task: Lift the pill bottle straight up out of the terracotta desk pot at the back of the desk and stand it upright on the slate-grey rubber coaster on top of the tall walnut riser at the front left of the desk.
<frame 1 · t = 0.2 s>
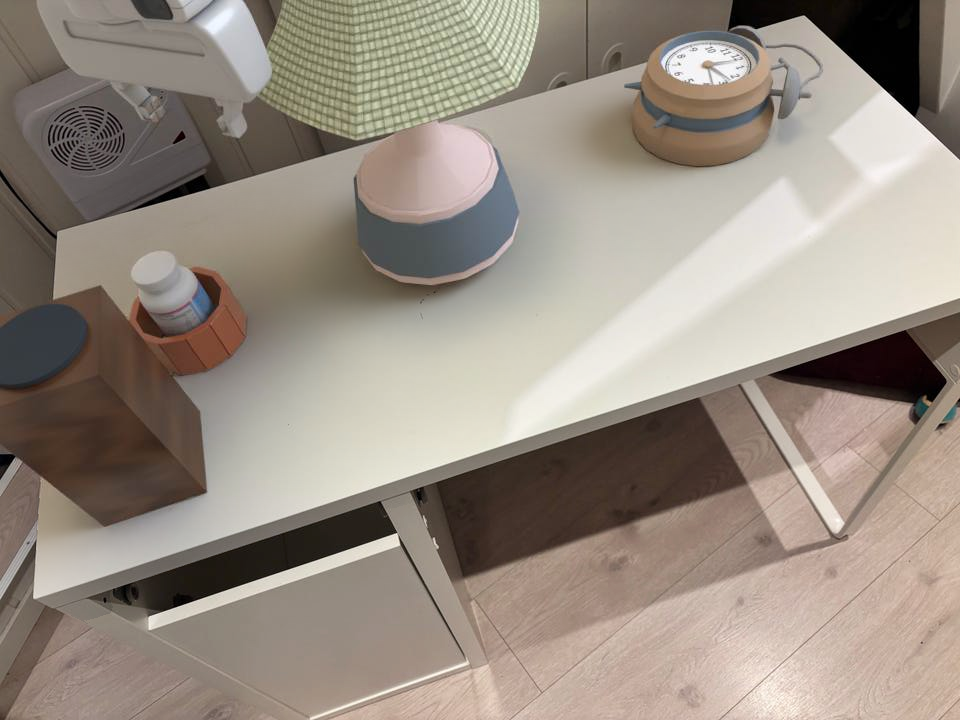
hand: (194, 125, 67), 23 cm above the table, tool pointing down, fingers open, 8 cm apart
desk pot: (200, 335, 84), on the table
alarm clock: (721, 118, 95), on the table
desk lamp: (441, 238, 88), on the table
riser: (154, 466, 74), on the table
coaster: (37, 347, 58), resting on riser
pill bottle: (201, 336, 84), resting in desk pot
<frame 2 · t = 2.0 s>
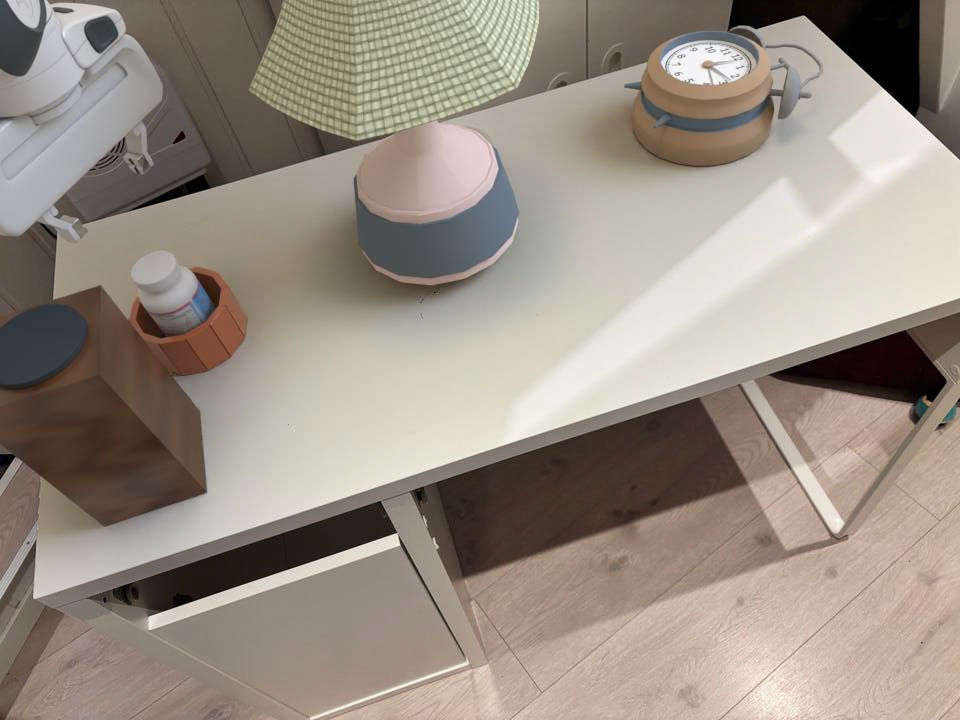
hand: (111, 201, 68), 20 cm above the table, tool pointing down, fingers open, 8 cm apart
nothing on the table moved.
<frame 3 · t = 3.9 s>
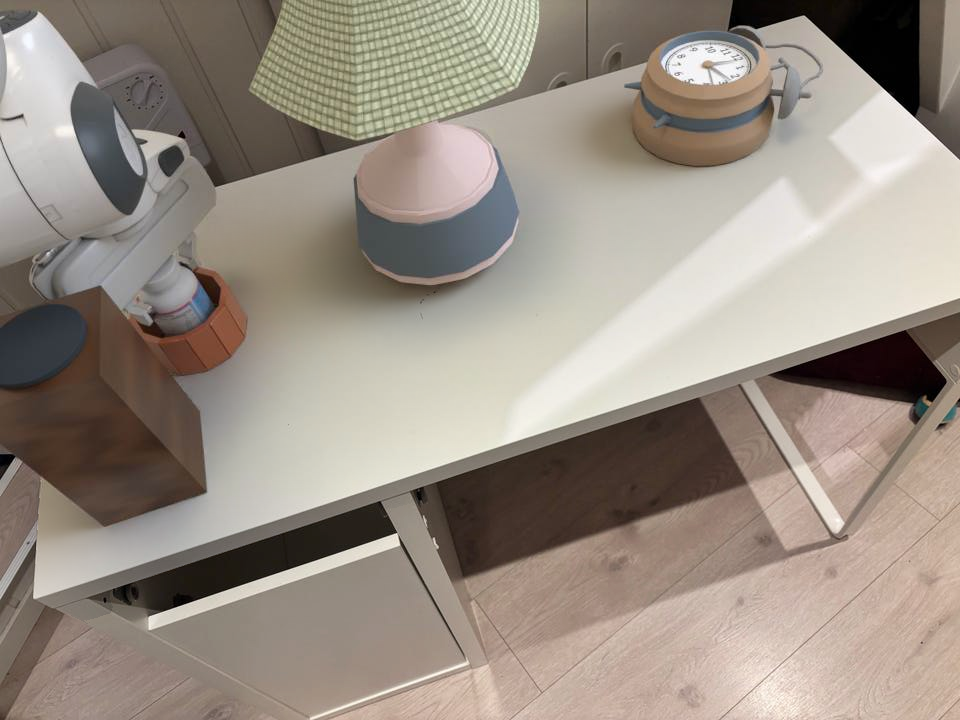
hand: (171, 293, 78), 7 cm above the table, tool pointing down, fingers closed on pill bottle, 6 cm apart
pill bottle: (201, 336, 84), resting in desk pot, touching gripper
everything else where it was.
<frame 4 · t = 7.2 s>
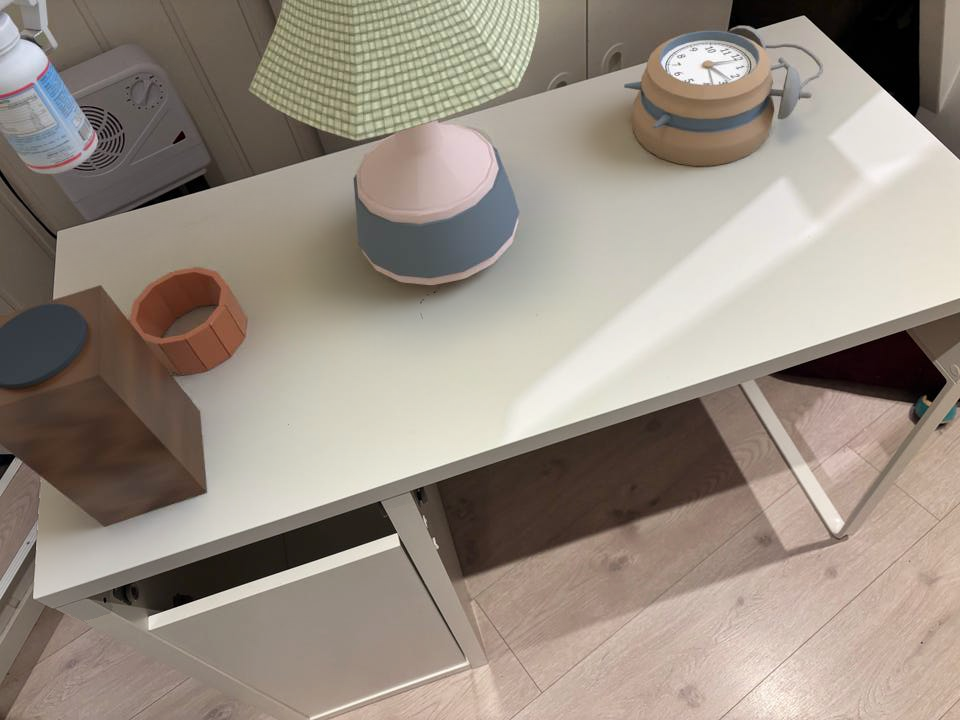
hand: (12, 77, 57), 33 cm above the table, tool pointing down, fingers closed on pill bottle, 6 cm apart
pill bottle: (66, 156, 63), point 26 cm above the table, touching gripper
everything else where it was.
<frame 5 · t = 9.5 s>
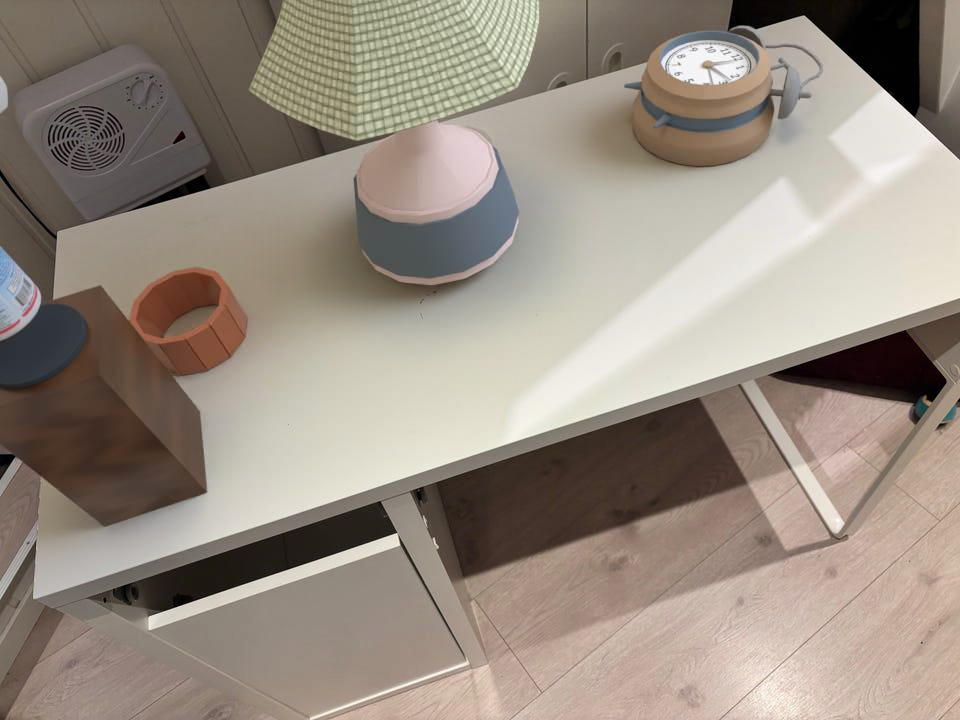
pill bottle: (5, 317, 55), point 23 cm above the table, touching gripper
everything else where it was.
when the fingers open (27 cm above the table, at t = 11.0 s): pill bottle stays where it is, resting on coaster.
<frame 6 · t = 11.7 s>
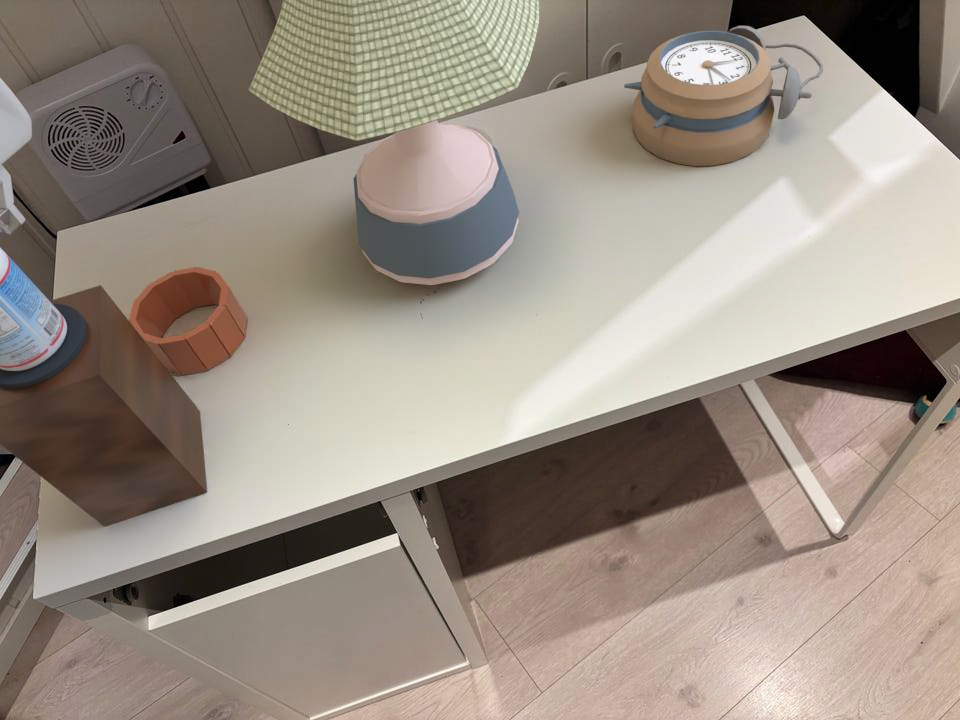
pill bottle: (32, 345, 58), point 20 cm above the table, touching coaster
everything else where it was.
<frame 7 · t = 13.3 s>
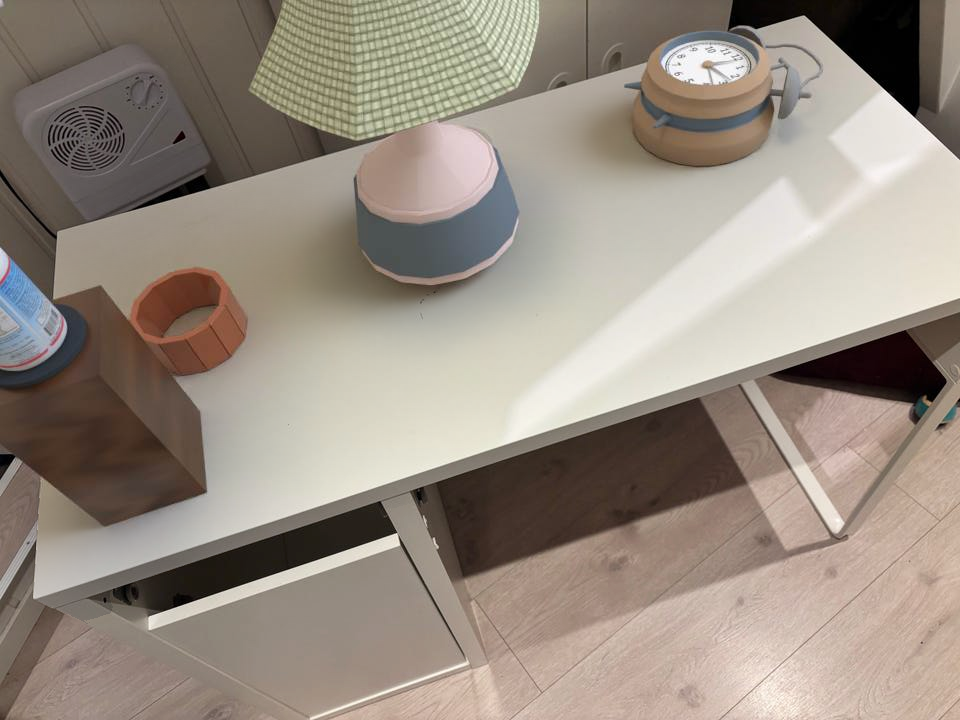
nothing on the table moved.
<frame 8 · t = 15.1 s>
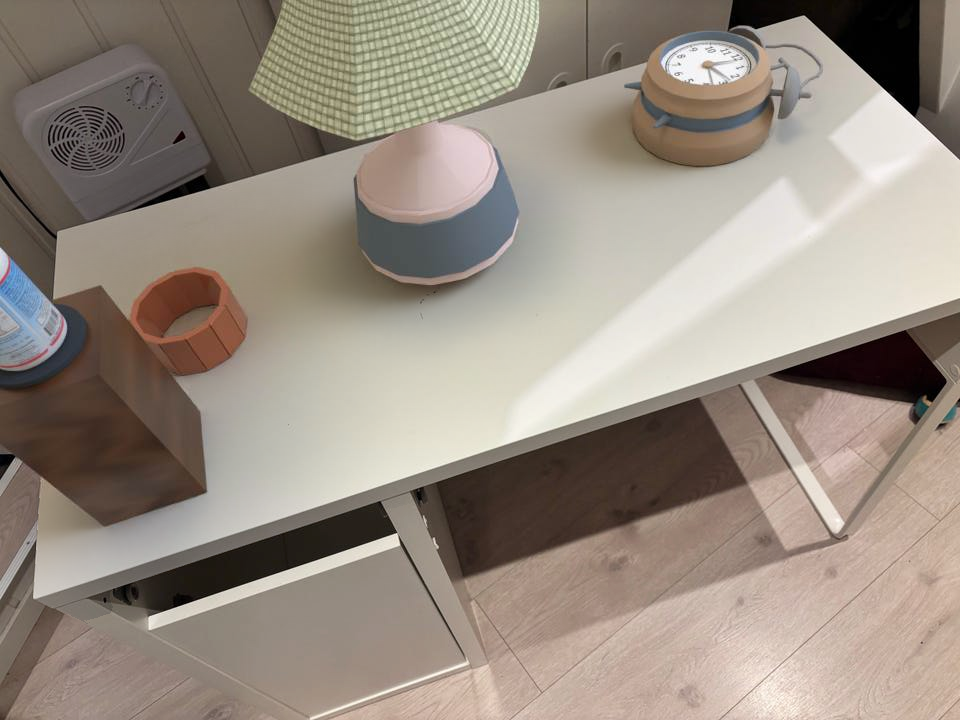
nothing on the table moved.
at the end: pill bottle 0.1 cm off-centre on the coaster, point 0.4 cm above the coaster's base; pill bottle tilted 0°; the gripper is holding nothing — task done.
